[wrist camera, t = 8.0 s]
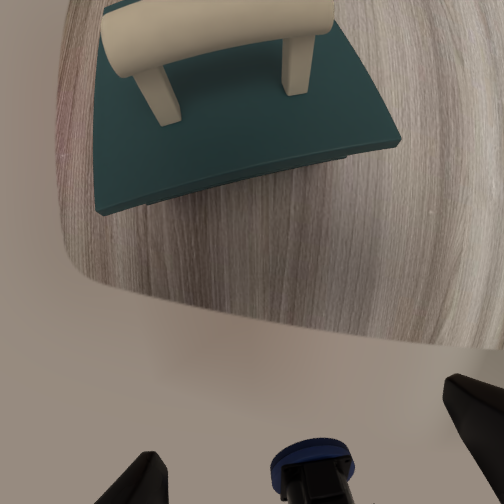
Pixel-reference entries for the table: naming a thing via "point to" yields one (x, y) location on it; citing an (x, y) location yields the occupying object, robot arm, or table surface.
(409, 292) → the table surface
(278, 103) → the lid
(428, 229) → the table surface
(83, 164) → the table surface
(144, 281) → the table surface
